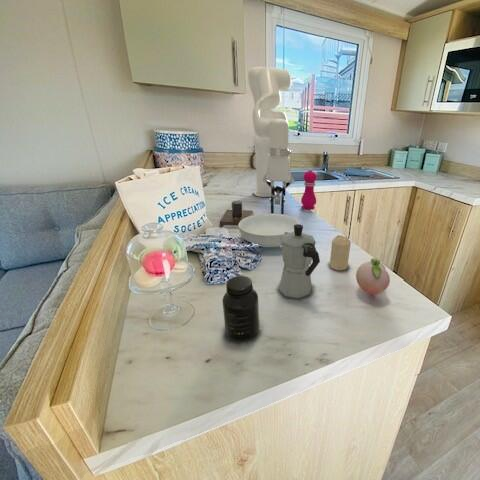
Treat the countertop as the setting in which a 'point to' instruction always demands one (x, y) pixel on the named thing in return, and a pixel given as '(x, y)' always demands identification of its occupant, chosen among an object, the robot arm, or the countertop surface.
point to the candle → (340, 253)
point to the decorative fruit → (372, 277)
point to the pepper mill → (309, 190)
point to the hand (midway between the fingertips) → (278, 196)
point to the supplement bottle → (240, 309)
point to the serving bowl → (266, 228)
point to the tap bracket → (273, 204)
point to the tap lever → (278, 191)
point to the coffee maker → (297, 263)
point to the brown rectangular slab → (231, 220)
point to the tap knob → (237, 209)
